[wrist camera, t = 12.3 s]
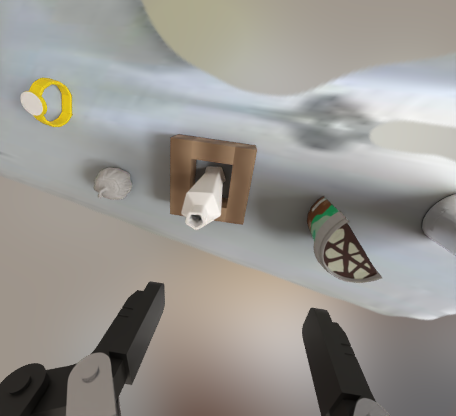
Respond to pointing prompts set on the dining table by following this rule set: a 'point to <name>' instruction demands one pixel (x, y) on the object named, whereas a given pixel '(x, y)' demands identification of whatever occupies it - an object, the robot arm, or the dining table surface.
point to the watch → (38, 106)
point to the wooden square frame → (214, 152)
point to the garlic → (113, 183)
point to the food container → (338, 245)
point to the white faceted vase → (204, 199)
